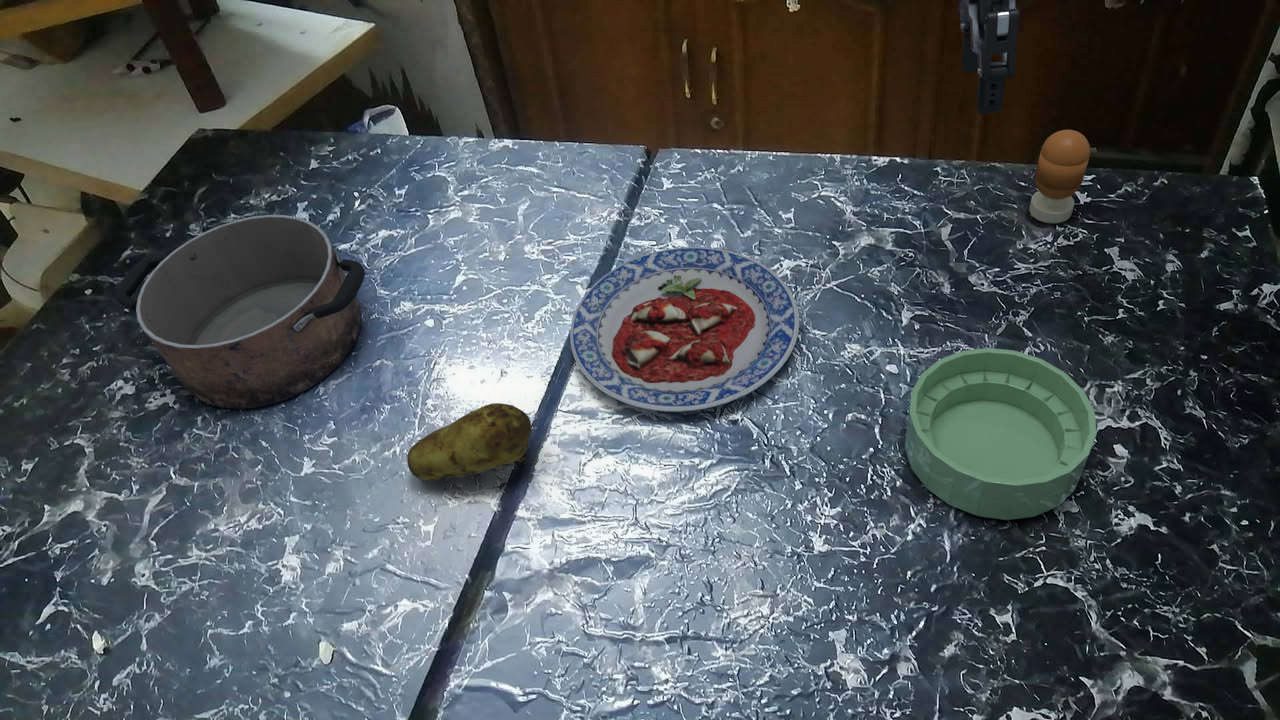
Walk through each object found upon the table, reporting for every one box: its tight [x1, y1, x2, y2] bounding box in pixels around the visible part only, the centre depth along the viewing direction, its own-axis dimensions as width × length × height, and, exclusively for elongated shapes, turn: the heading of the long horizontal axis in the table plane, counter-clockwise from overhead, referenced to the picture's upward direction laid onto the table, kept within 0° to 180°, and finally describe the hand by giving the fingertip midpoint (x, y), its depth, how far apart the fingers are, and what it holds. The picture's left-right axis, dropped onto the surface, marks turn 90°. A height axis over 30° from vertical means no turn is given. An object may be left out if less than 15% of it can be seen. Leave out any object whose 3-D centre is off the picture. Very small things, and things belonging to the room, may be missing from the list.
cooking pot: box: [114, 214, 366, 410], centre depth 110 cm, size 30×22×11 cm
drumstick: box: [1028, 129, 1091, 224], centre depth 109 cm, size 5×5×11 cm
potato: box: [406, 402, 532, 482], centre depth 94 cm, size 8×13×8 cm, turn 75°
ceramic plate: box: [569, 246, 800, 413], centre depth 105 cm, size 26×26×3 cm
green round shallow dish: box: [904, 347, 1098, 521], centre depth 88 cm, size 16×16×6 cm
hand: (980, 90), depth 89 cm, fingers open, 8 cm apart
